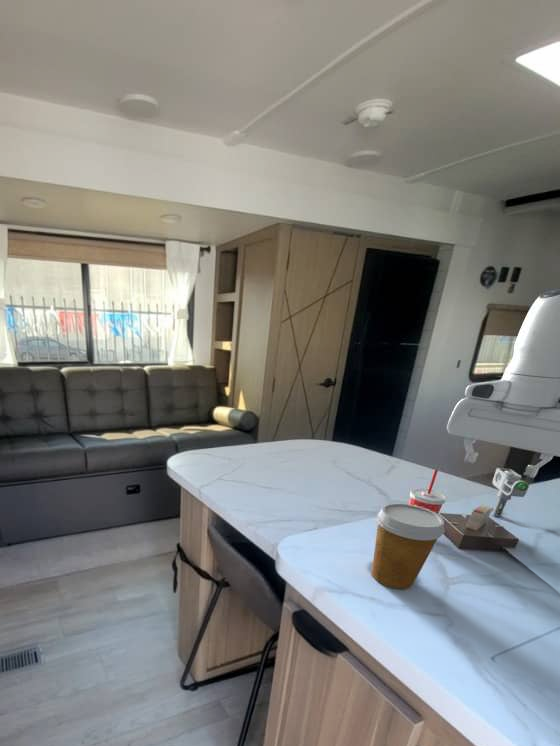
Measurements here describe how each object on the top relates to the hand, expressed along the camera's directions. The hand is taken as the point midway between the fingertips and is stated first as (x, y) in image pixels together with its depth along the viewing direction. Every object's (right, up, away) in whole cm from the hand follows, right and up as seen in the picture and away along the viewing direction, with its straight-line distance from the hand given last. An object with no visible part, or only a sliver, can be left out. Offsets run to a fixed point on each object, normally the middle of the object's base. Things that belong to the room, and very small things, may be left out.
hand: (497, 468), depth 76 cm
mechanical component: (+13, -9, +17) cm, 23 cm away
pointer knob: (0, -11, +5) cm, 12 cm away
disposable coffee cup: (-24, -19, -7) cm, 32 cm away
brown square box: (0, -13, +6) cm, 15 cm away
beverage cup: (-11, -13, +7) cm, 19 cm away
